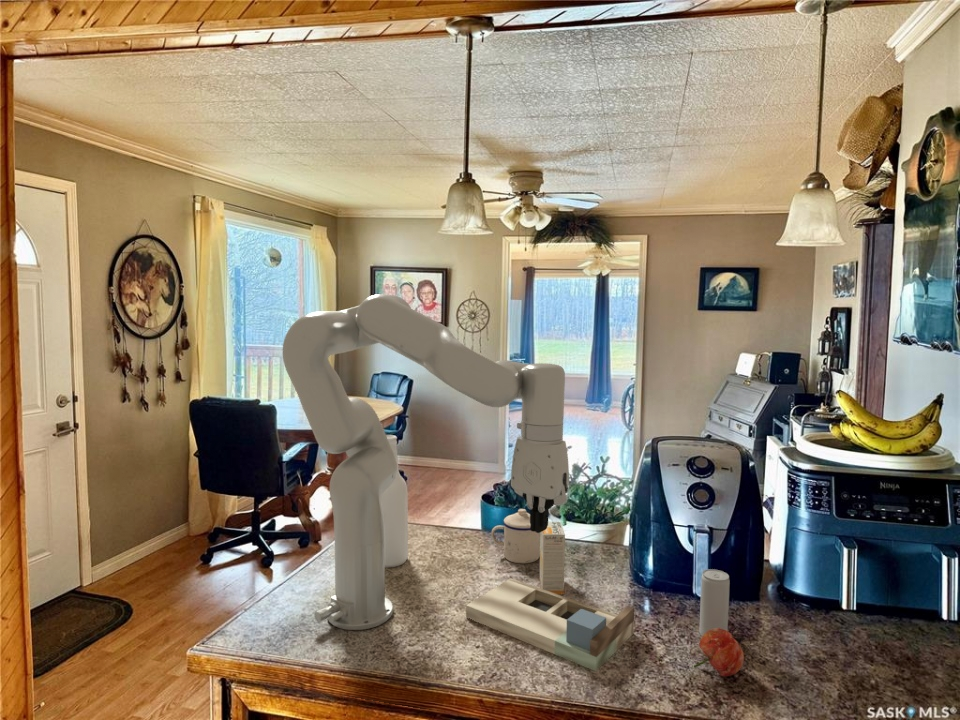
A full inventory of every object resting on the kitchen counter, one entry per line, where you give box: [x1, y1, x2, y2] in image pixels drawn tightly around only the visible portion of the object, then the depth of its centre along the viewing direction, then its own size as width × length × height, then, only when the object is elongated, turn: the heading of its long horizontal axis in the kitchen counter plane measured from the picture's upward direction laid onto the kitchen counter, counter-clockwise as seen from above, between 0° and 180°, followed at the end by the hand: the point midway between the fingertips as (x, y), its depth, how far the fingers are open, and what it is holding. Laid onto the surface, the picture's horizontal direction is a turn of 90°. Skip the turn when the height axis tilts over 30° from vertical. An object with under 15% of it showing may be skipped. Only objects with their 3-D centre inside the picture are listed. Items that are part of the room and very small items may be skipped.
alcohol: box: [380, 434, 409, 568], centre depth 143 cm, size 9×9×30 cm
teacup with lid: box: [491, 508, 540, 564], centre depth 147 cm, size 12×9×12 cm
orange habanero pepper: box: [693, 628, 747, 678], centre depth 101 cm, size 7×7×10 cm
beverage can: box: [699, 568, 731, 637], centre depth 111 cm, size 5×5×12 cm
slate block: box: [566, 609, 606, 651], centre depth 106 cm, size 5×5×4 cm
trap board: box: [465, 577, 635, 672], centre depth 115 cm, size 15×28×5 cm, turn 52°
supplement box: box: [539, 521, 566, 595], centre depth 131 cm, size 8×5×13 cm, turn 179°
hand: (538, 529), depth 112 cm, fingers closed
